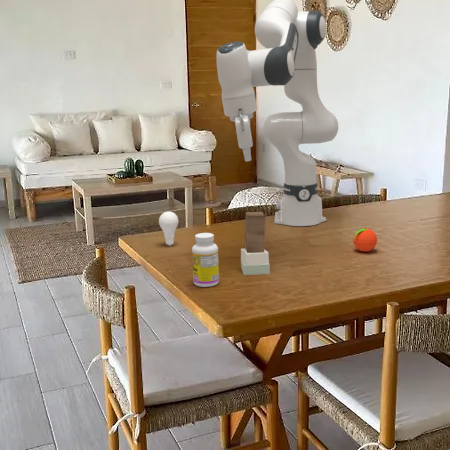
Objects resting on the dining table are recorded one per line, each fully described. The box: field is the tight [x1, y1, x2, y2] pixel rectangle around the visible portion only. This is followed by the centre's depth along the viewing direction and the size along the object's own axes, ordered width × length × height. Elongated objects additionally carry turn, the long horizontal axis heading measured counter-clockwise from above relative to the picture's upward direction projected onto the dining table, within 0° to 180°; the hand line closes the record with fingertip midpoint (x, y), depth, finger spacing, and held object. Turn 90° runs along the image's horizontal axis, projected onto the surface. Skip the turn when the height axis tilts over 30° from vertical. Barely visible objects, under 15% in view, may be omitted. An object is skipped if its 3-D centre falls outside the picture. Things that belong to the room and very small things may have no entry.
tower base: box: [240, 259, 271, 276], centre depth 161 cm, size 7×7×3 cm
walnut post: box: [244, 211, 266, 253], centre depth 159 cm, size 4×4×10 cm
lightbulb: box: [158, 211, 179, 247], centre depth 187 cm, size 6×6×11 cm
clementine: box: [352, 227, 378, 253], centre depth 175 cm, size 8×7×7 cm
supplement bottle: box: [191, 232, 220, 288], centre depth 150 cm, size 7×7×13 cm
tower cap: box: [240, 247, 270, 266], centre depth 160 cm, size 6×6×3 cm
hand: (247, 155), depth 163 cm, fingers open, 8 cm apart
